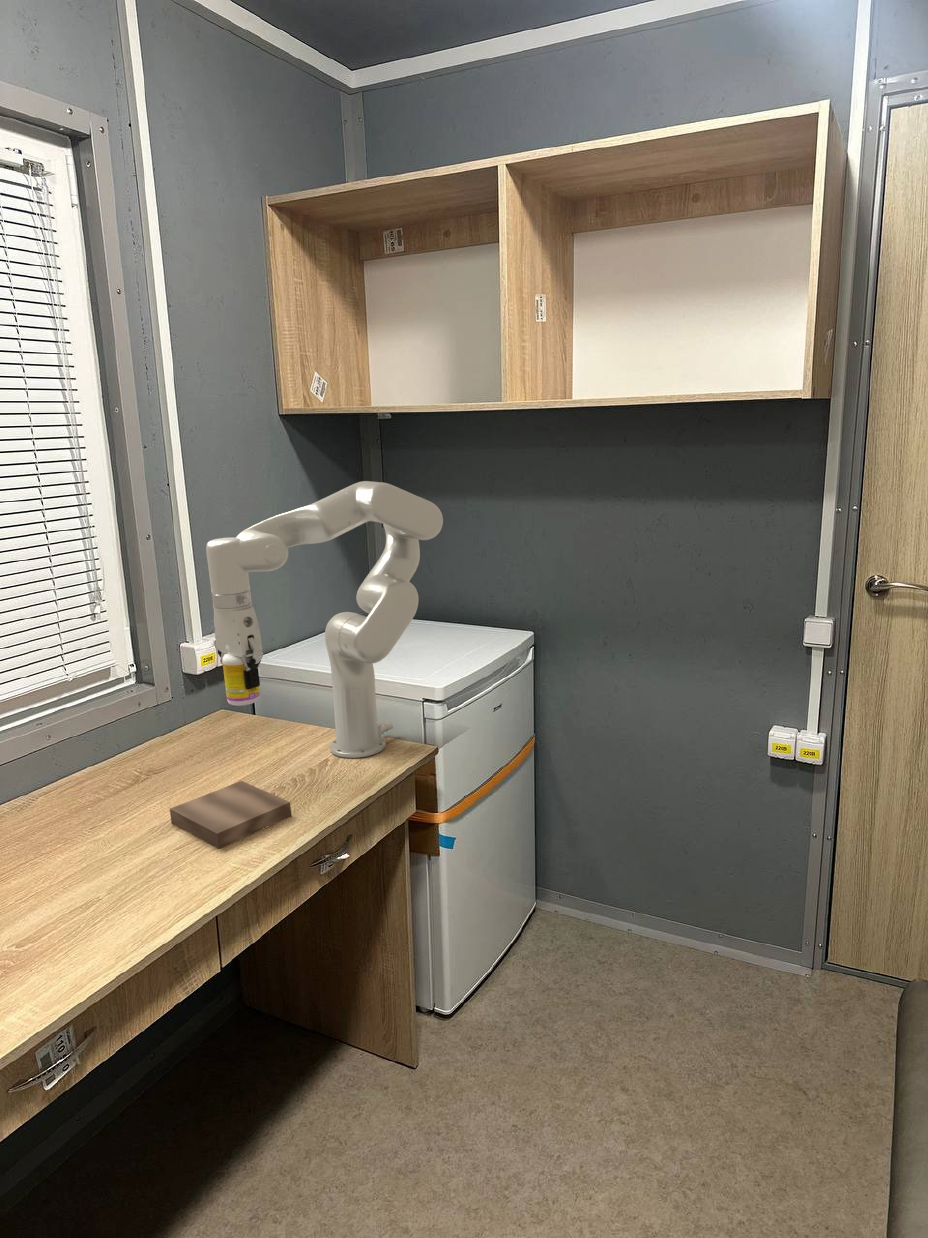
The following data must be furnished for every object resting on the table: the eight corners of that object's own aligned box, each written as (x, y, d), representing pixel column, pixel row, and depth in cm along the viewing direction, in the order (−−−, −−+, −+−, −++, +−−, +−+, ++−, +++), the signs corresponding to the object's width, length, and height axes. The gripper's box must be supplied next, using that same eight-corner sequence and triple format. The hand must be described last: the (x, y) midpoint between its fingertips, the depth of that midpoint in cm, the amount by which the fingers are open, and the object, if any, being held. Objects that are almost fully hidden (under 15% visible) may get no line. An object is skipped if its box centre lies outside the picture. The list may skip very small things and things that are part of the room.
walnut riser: (242, 794, 177) (241, 780, 176) (291, 816, 166) (290, 802, 166) (171, 823, 165) (169, 808, 165) (218, 849, 155) (217, 833, 154)
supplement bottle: (251, 707, 176) (244, 646, 173) (221, 706, 177) (214, 645, 174) (265, 695, 182) (259, 636, 179) (236, 695, 184) (229, 636, 181)
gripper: (273, 601, 172) (282, 687, 176) (223, 591, 183) (233, 672, 187) (241, 609, 166) (251, 697, 171) (192, 598, 178) (203, 682, 182)
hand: (242, 683), depth 179 cm, fingers closed on supplement bottle, 6 cm apart
